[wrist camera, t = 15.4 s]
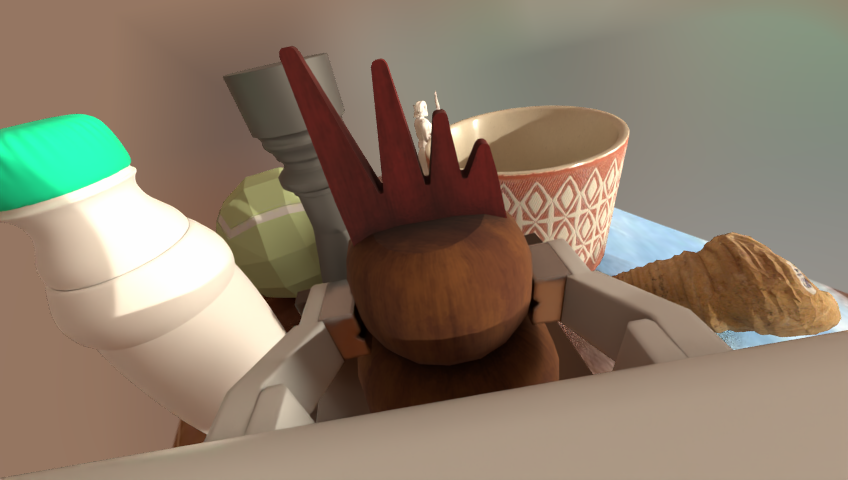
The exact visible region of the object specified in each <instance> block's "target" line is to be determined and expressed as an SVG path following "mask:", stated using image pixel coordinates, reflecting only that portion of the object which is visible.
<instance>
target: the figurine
mask: <svg viewBox="0 0 848 480" xmlns="http://www.w3.org/2000/svg"><path fill="white" fill-rule="evenodd" d="M435 103H436V110H440V108H439V103H438V100H437V93H436V92H435ZM413 106H414V109H415V113H414V117H416V120H415V123H414V126H415V129H416V134H417V137H418V139H419V142H418V147H419V148H420V150H419V153H418V158H419V161H420V164H421V167H422V170H423V173H424V175H426V176H428V175H429V173H428V167H427V161H426V156H425V146H426V144H427V142H428V140H429V139H430V138H431V136H430V135H431V130H432V129H431V127H432V124H431V123H430V122H429V121H428V120H427V119H425V118H424V115H425V116H427V115H428V113H427V112H426V111H427V106H426V103H425V102H424V101H418V102H417V103H416V105H413Z"/></svg>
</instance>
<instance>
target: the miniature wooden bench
mask: <svg viewBox="0 0 848 480" xmlns="http://www.w3.org/2000/svg"><path fill="white" fill-rule="evenodd" d="M524 236H525V239H526V241H527V244H528V245H533V244H538V243H543V241H542V240H541V239H540V238H539V237H538V236H537V234H536V233H531V234H527V235H524ZM310 290H311V289H307V290H303V291H299V292H298V293H297V297H296V301H295V307H296V308H297V310H298V311H299V313H300V315H301V316H302V314H303V311H304V308H305V305H306V302H307V299H308V296H309V293H310ZM545 325H546V327H547V329H548V331H549V333H550V335H551V338H552V340H553V342H554V345H555V348H556V351H557V354H558V357H559V381H560V380H565V379H571V378H577V377H583V376H588V375H593V374H592V372H591V371H590V369H589V368H588V366H587V365H586V363H585V362H584V361H583V359H582V358H581V356H580V355H579V353H578V352H577V350H576V349H575V347H574V346H573V345H572V343H571V342H570V340H569V339H568V337H567V336H566V334H565V333H564V331H563V330H562V329H561V327H560V326H559V324H558V323H557V322H551V323H545ZM365 414H371V413H370V410H369V407H368V404H367V401H366V398H365V395H364V392H363V389H362V386H361V383H360V380H359V377H358V357H356V358H351V359H346V360H344V363H343V365H342V366H341V368H340V369H339V371H338V372H337V374H336V375H335V377H334V379H333V380H332V382H331V383H330V385H329V386H328V388H327V389H326V391H325V393H324V394H323V396H322V397H321V399H320V400H319V403H318V412H317V421H316V423H319V422H325V421H331V420H336V419H342V418H348V417H353V416H359V415H365Z"/></svg>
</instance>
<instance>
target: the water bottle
mask: <svg viewBox="0 0 848 480" xmlns="http://www.w3.org/2000/svg"><path fill="white" fill-rule="evenodd" d="M130 163H131V159H130V156H129V154H128V152H127V151H126V149H125V148H124V146H123V145H122V144H121V142H120V141H119V140H118V138H117V137H116V136H115V134H114V133H113V132H112V131H111V130H110V129H109V128H108V127H107V126H106V125H105V124H104V123H103V122H101V121H100V120H98V119H97V118H95V117H93V116H89V115H84V114H71V115H64V116H58V117H52V118H47V119H42V120H37V121H33V122H29V123H24V124H20V125H16V126H11V127H8V128H3V129H0V222H4V223H9V224H12V225H15V226H17V227H19V228H20V229H22V230H23V231H24V232H26V233H27V234H28V235H29V237H30V238H31V239H32V241H33V244H34V249H35V265H36V270H37V273H38V275H39V277H40V278H41V280H42V281H43V282H44V283H45V284H46V290H45V291H46V297H47V301H48V305H49V308H50V312H51V315H52V318H53V320H54V322H55V324H56V325H57V327H58V328H59V329H60V330H61V331H62V332H63V333H64V334H65V335H66V336H67V337H69V338H70V339H72V340H73V341H75V342H76V343H78V344H81V345H83V346H85V347H88V348H93V349H96V350H98V352H99V353H100V354H101V355H102V356H103V357H104V358H105V359H106V360H107V361H108V362H109V363H110V364H111V365H112V366H113V367H114V368H116V369H117V370H118V371H119V372H120V373H121V374H122V375H124V376H125V377H126V378H127V379H128V380H129V381H130V382H132V383H133V384H134V385H135V386H137V387H138V388H139V389H140V390H142V391H143V392H144V393H146V394H147V395H148V396H149V397H151V398H152V399H154V400H155V401H156V402H157V403H159V404H160V405H162V406H163V407H164V408H166V409H167V410H168V411H170V412H171V413H173V414H174V415H175V416H177V417H178V418H180V419H181V420H183V421H184V422H186V423H188V424H189V425H191V426H193V427H194V428H196V429H198V430H200V431H201V432H203V433H205V434H208V432H209V429H210V427H211V425H212V423H213V421H214V419H215V416H216V414H217V412H218V410H219V408H220V406H221V403H222V401H223V399H224V397H225V395H226V393H227V391H228V390H229V389H230V388H231V387H232V386H233V385H234V384H236V383H237V382H238V381H239V380H240V379H241V378H242V377H243V376H244V375H245V374H246V373H247V372H248V371H249V370H250V369H251V368H252V367H253V366H254V365H255V364H256V363H257V362H258V361H259V360H260V359H261V358H262V357H263V356H264V355H265V354H266V353H267V352H268V351H269V350H270V349H271V348H272V347H273V346H274V345H275V344H276V343H277V342H279V341H280V340H281V339H282V338H283V337H284V336H285V335H286V334H287V332H286V331H285V329H284V328H283V326H282V324H281V323H280V321H279V320H278V318H277V317H276V315H275V314H274V312H273V311H272V309H271V308H270V307H269V305H268V304H267V302H266V301H265V300H264V298H263V297H262V295H261V294H260V293H259V291H258V290H257V289H256V287H255V286H254V285H253V284H252V282H251V281H250V280H249V279H248V277H247V276H246V275H245V274H244V273H243V272H242V271H241V269H240V268H239V267H238V266H237V265H236V264H235V261H234V256H233V253H232V251H231V249H230V247H229V246H228V244H227V243H226V242H225V241H224V240H223V238H222V237H220V236H219V235H218V234H217V233H215V232H214V231H212V230H211V229H209V228H207V227H206V226H203V225H202V224H200V223H198V222H196V221H195V220H192V219H190V218H186V217H185V216H184V215H183V214H182V213H181V212H180V211H179V210H177V209H176V208H174V207H172V206H170V205H168V204H166V203H163V202H161V201H159V200H156V199H154V198H152V197H150V196H148V195H147V194H145V193H144V192H143V191H142V190H141V189H140V188H139V186H138V185H137V183H136V180H135V174H136V171H137V170H136V168H135V167H132V166H130ZM318 403H319V402H318ZM318 403H317V405H316V407H315V408H314V410H313V411H312V413H311V414H310V417H311V418H312V419H313V421H314V422H315V423H316V421H317V412H318Z"/></svg>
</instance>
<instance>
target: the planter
mask: <svg viewBox="0 0 848 480" xmlns="http://www.w3.org/2000/svg"><path fill="white" fill-rule="evenodd" d="M450 129H451V134H452V138H453V142H454V146H455V150H456V154H457V158H458V163H459V167H460V170H463V169H464V168H465V165H466V163H467V160H468V158H469V155H470V153H471V150H472V148H473V145H474V143H475V141H476V140H477V139H479V138H483V139H485V140H486V141H487V143H488V144H489V146H490V149H491V153H492V156H493V159H494V163H495V166H496V170H497V174H498V178H499V183H500V187H501V192H502V197H503V201H504V206H505V210H506V211H507V212H508V213H509V214H511V215H512V216H513V218H514V219H515V221H516V223H517V224H518V226H519V227H520V229H521V230H522V232H523V234H524V235H527V234H531V233H536V234H537V236H538V237H539V238H540V239H541V240H542V241H543V242H546V241H551V240H556V239H560V238H563V239H565V240H566V241H567V243H568V244H569V245H570V246H571V247H572V249H573V250H574V251H575V252H576V253H577V255H578V256H579V257H580V258H581V259H582V261H583V262H584V263H585V264H586V265H587V267H588V268H589V269H590V270H591V271H594V270H595V269H596V267H597V266H598V265H599V264H600V262H601V260H602V258H603V256H604V252H605V247H606V242H607V238H608V233H609V228H610V223H611V219H612V214H613V209H614V204H615V200H616V195H617V190H618V186H619V181H620V176H621V171H622V167H623V162H624V157H625V152H626V148H627V143H628V139H629V128H628V126H627V124H626V123H625V122H624V121H623V120H622V119H620V118H619V117H617V116H615V115H613V114H610V113H607V112H604V111H600V110H596V109H590V108H584V107H574V106H533V107H521V108H514V109H506V110H500V111H495V112H490V113H486V114H481V115H478V116H474V117H471V118H467V119H465V120H462V121H459V122H456V123H454V124H452V125H450ZM430 147H431V138H430V139H429V140H428V142H427V144H426V146H425V156H426V161H427V167H428V173H429V164H430Z"/></svg>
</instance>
